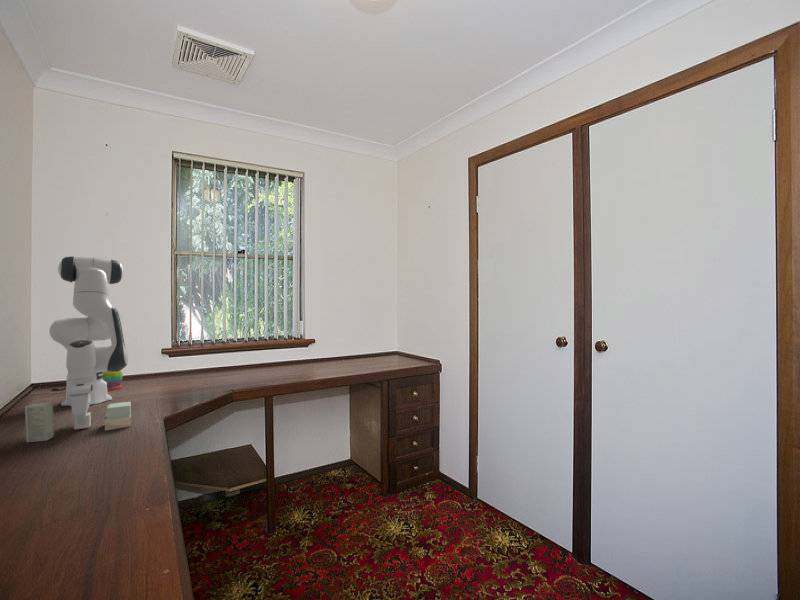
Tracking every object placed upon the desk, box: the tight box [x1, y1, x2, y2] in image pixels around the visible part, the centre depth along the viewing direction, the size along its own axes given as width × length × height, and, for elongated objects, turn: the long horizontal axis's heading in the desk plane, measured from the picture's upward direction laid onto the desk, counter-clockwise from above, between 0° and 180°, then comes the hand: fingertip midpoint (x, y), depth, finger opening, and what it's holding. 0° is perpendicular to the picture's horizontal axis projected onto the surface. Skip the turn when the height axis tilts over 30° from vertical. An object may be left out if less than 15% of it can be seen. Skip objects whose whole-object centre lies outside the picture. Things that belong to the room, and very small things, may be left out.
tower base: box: [104, 413, 132, 431], centre depth 157 cm, size 8×8×4 cm
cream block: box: [73, 411, 92, 430], centre depth 154 cm, size 4×4×4 cm
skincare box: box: [24, 401, 55, 443], centre depth 142 cm, size 6×4×12 cm
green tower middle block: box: [106, 401, 132, 419], centre depth 157 cm, size 7×7×4 cm
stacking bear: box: [102, 369, 124, 392], centre depth 219 cm, size 11×10×18 cm
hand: (82, 422), depth 154 cm, fingers closed on cream block, 4 cm apart
